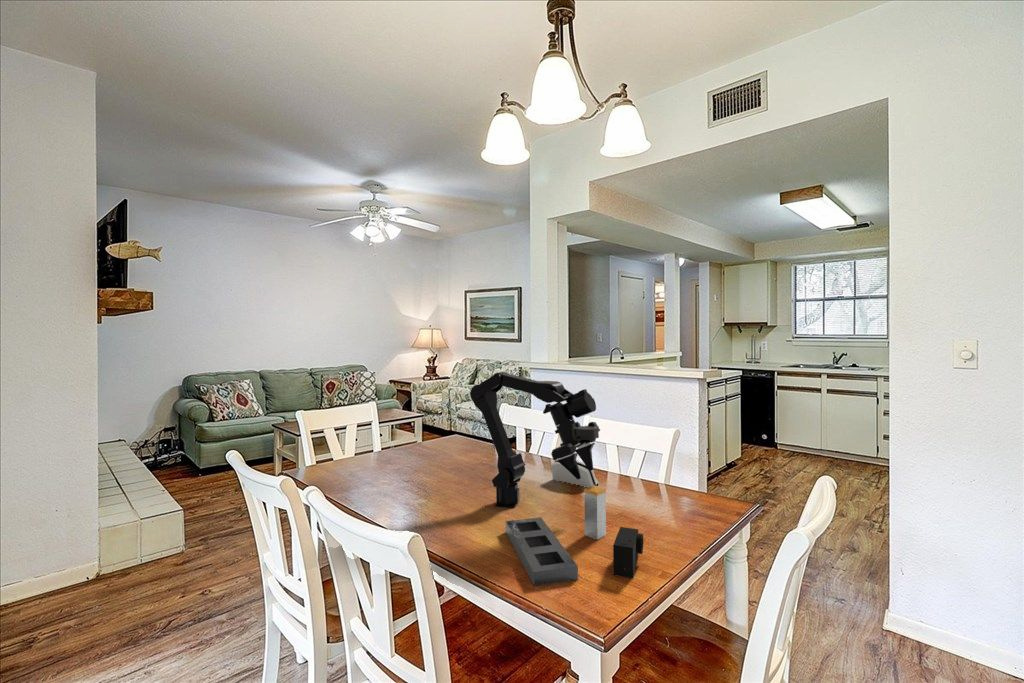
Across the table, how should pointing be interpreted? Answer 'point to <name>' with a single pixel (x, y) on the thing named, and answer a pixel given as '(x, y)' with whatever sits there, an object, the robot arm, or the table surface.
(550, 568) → the gray slotted board
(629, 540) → the digital camera
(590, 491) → the grey square peg
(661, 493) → the table surface
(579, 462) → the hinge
